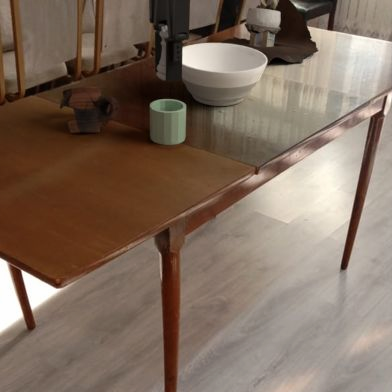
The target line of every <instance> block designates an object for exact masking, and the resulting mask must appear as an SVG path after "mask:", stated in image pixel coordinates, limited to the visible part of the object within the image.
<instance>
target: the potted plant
mask: <svg viewBox="0 0 392 392" xmlns="http://www.w3.org/2000/svg"><path fill="white" fill-rule="evenodd" d="M259 1H260V4H258V5H256V7H249V8H248V10H247V12H246V17H245V23H244V27H245V29H246V30H247V32H248V34H249V39H247V38H245V37H244V38H242V37H241V38H239V37H237V36H233V37H232V38H227V39H225V40H222V41H221V43H227V44H235V45H241V46H246V47H249V48H253V49H255V50H258V51H260V52H261V53H263V54H264V55H265V56H266V57H267V64H266V66H268V67H269V65H270V63H271V61H272V60H273V59H275V58H279V59H282V60H283V61H285V62H286V63H301V64H303V63H304V59H306V58H307V57H310V56H314V54H315V53H317V52H319V51H320V50H319V48H318V47H317V43H316V41H314V40H312V38H313V37H312V35H311V31H310V30H309V27H308V24H307V23H306V21H305V19H304V17H303V15H302V14H301V13H300V12H299V10H298V7H297V6H296V5H295V4H294V3H293V2H292V1H291V0H259Z"/></svg>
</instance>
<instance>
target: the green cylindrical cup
mask: <svg viewBox="0 0 392 392" xmlns="http://www.w3.org/2000/svg"><path fill="white" fill-rule="evenodd" d="M186 129H187V104H186V103H185V102H183V101H181V100H179V99H172V98H163V99H157V100H154V101H152V102H150V103H149V138H150V140H151V142H152V141H153V143H156V144H159V145H163V146H173V145H179V144H181V143H183V142H185V140H186V136H187V135H186V134H187V133H186V132H187V130H186Z"/></svg>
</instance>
